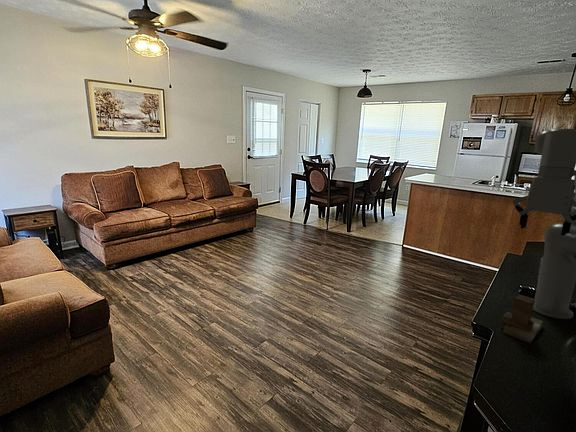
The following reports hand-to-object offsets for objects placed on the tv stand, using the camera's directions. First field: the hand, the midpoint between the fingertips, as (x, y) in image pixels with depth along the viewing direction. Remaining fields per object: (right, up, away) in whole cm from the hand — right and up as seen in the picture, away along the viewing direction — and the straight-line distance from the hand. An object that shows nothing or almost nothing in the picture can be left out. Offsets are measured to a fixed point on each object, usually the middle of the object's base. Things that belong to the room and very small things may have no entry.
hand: (542, 231), depth 94 cm
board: (-2, -31, +6) cm, 32 cm away
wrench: (+34, -25, +44) cm, 61 cm away
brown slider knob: (-4, -32, +4) cm, 32 cm away
